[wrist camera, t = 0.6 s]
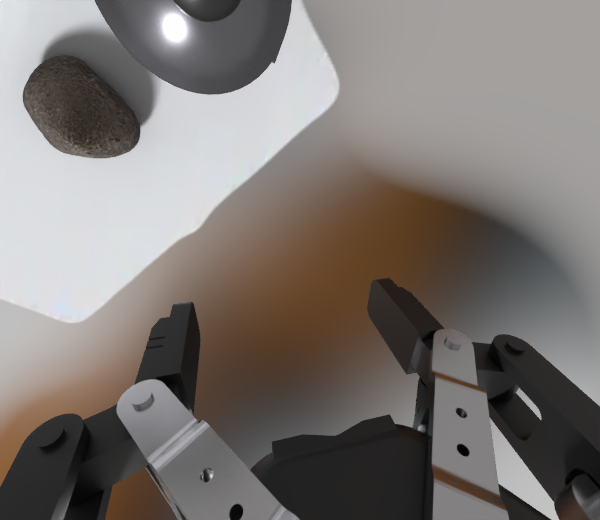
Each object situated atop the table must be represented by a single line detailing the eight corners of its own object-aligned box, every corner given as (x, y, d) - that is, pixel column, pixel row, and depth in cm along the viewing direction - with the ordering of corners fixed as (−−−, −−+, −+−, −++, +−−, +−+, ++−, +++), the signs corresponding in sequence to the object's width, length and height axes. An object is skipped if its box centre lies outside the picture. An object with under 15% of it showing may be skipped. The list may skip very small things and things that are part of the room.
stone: (37, 93, 33) (48, 177, 32) (1, 31, 25) (15, 139, 25) (135, 103, 37) (146, 177, 37) (129, 53, 30) (143, 145, 29)
